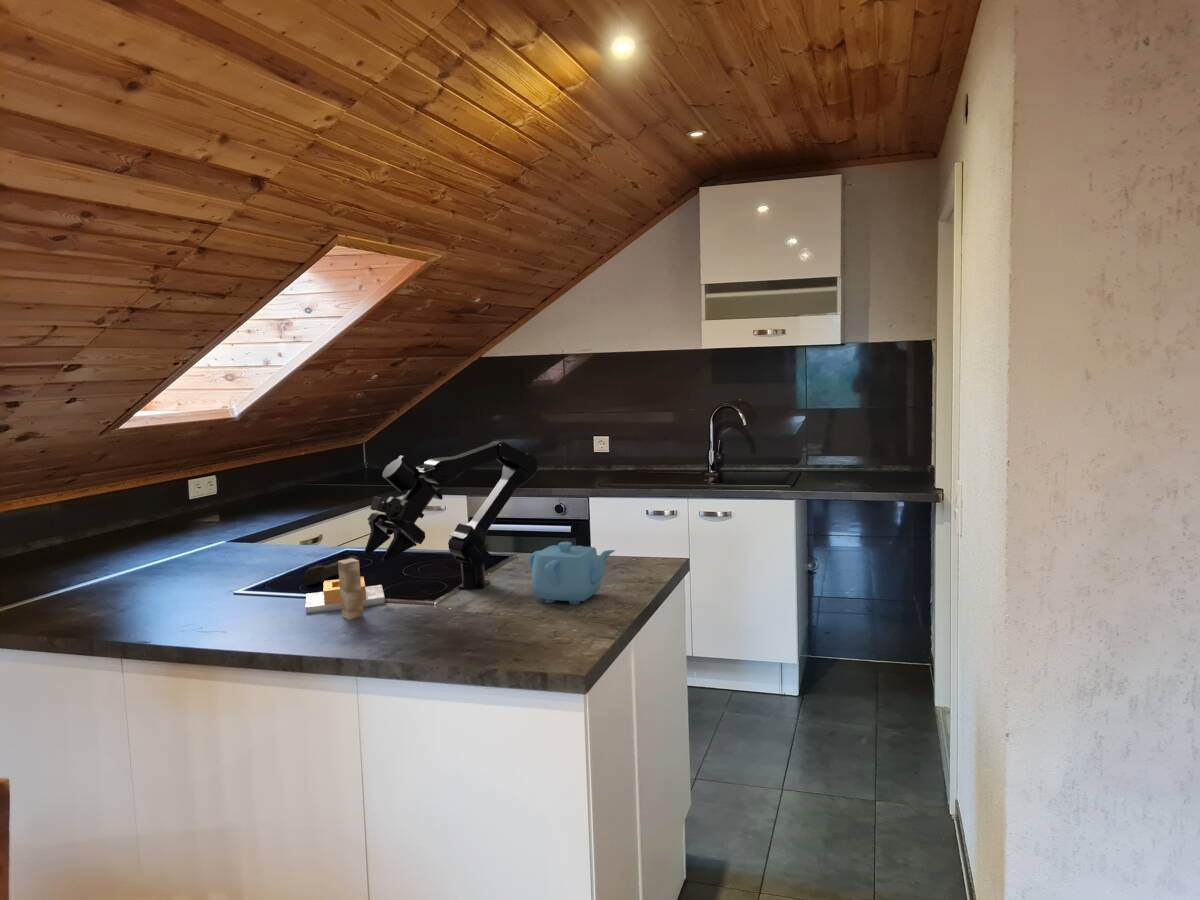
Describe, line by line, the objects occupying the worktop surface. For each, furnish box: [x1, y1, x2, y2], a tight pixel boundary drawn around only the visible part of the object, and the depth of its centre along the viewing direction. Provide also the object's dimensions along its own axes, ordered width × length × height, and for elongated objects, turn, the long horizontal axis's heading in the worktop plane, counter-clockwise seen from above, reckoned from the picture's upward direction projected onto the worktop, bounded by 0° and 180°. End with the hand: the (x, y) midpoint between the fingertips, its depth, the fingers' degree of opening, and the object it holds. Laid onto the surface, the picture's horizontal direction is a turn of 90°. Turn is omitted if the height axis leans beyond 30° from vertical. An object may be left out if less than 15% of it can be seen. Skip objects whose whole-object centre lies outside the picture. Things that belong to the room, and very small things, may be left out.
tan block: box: [337, 558, 364, 620], centre depth 199 cm, size 4×4×13 cm
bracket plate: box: [305, 576, 386, 614], centre depth 211 cm, size 18×12×4 cm, turn 107°
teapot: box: [528, 541, 616, 606], centre depth 206 cm, size 18×16×14 cm
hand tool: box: [304, 555, 361, 586], centre depth 236 cm, size 19×4×5 cm, turn 152°
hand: (374, 557), depth 202 cm, fingers open, 9 cm apart
